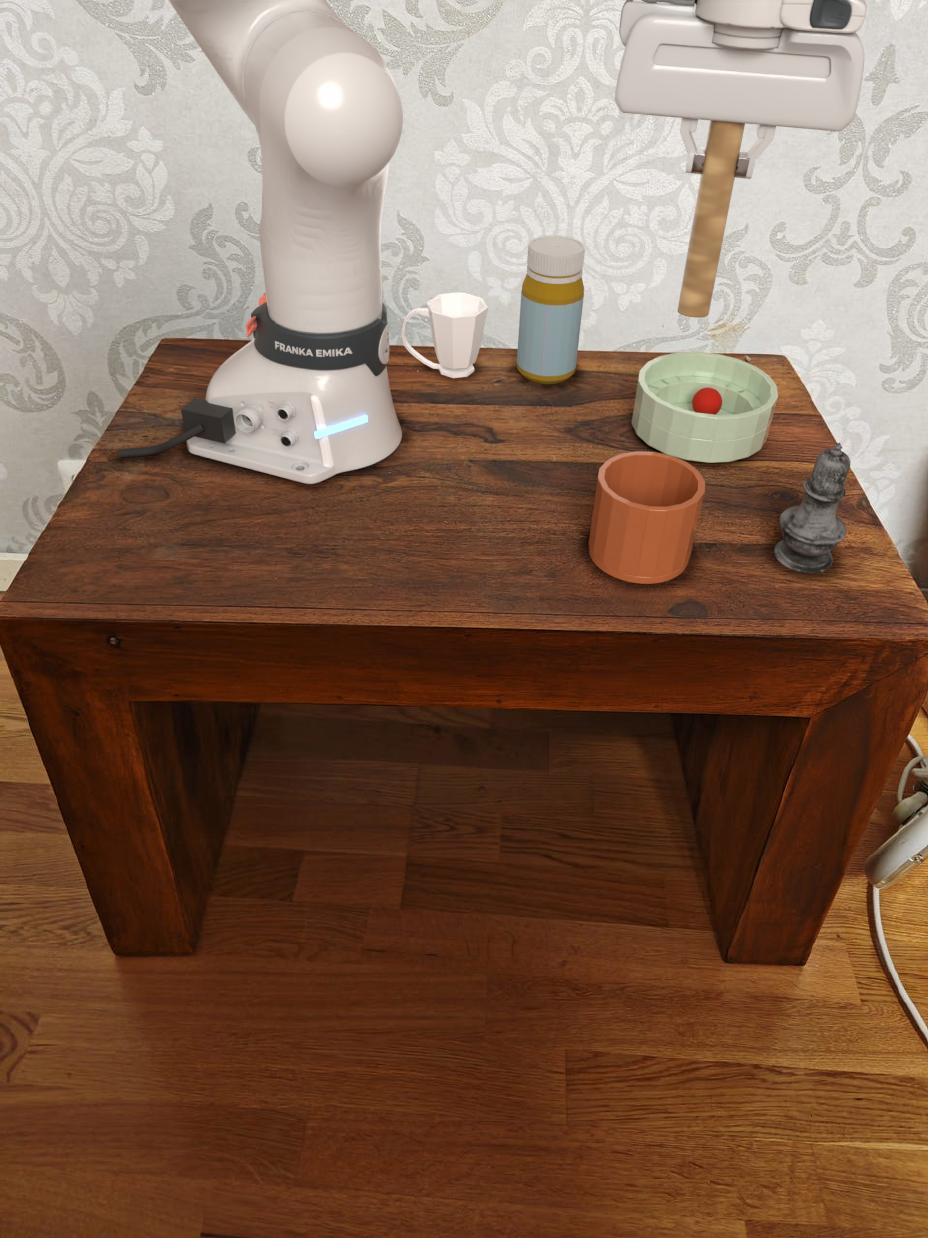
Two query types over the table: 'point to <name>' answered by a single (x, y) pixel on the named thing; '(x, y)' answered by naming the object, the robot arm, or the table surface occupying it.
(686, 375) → the bowl
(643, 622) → the table surface
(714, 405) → the ball
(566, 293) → the bottle
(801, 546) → the grey chess piece
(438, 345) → the cup
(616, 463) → the crock
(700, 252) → the stick
